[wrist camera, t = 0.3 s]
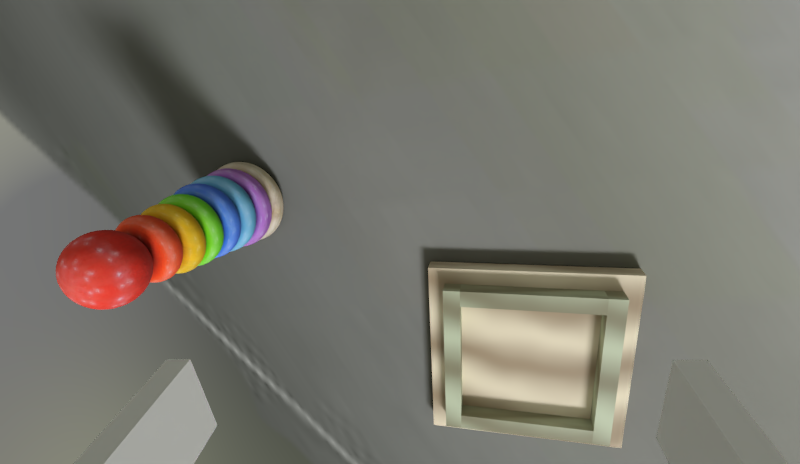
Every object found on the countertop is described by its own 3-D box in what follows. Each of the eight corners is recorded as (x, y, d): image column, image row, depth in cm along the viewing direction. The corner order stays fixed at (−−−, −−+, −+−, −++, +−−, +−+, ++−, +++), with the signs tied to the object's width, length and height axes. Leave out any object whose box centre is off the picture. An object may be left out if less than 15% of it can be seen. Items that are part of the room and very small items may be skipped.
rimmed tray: (430, 261, 39) (425, 274, 36) (640, 268, 35) (652, 284, 32) (435, 414, 45) (431, 435, 42) (617, 435, 41) (625, 461, 38)
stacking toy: (208, 159, 41) (-5, 212, 23) (282, 160, 39) (110, 218, 22) (221, 235, 43) (38, 332, 26) (291, 239, 42) (144, 346, 24)
